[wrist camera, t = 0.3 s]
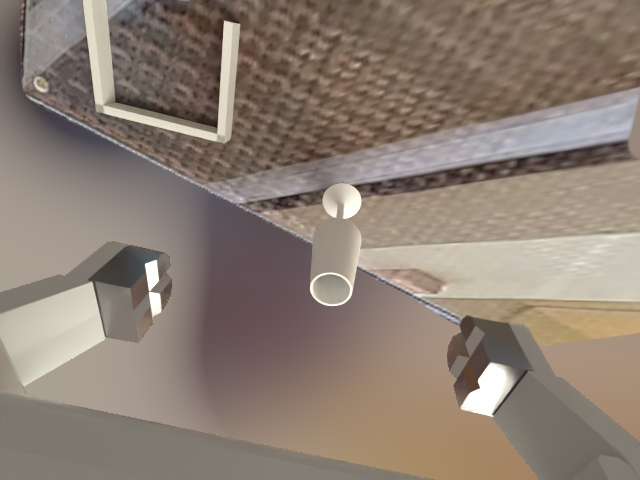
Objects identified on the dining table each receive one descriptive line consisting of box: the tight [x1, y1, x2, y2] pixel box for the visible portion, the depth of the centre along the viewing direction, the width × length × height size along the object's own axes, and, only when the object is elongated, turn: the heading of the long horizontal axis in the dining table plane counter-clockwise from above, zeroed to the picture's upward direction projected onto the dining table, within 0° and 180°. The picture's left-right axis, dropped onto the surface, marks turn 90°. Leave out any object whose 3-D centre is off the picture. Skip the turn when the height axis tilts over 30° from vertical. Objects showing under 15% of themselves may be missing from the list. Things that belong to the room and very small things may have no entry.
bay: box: [83, 0, 240, 144], centre depth 49 cm, size 16×20×3 cm
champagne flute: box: [310, 183, 361, 306], centre depth 48 cm, size 7×7×24 cm
